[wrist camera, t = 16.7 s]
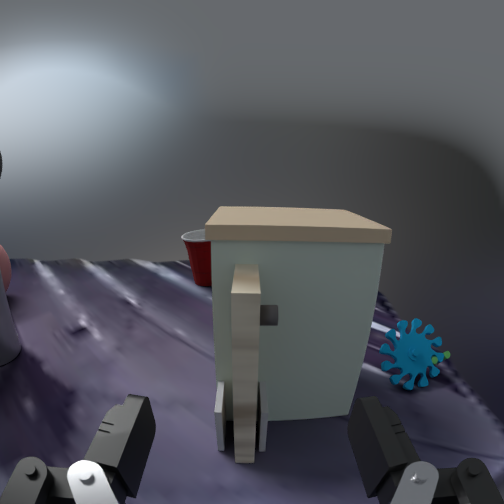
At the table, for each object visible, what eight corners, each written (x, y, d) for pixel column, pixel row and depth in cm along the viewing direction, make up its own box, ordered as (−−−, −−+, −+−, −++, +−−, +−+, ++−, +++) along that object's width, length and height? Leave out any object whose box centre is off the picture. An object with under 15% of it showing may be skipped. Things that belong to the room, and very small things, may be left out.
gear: (376, 384, 31) (388, 310, 36) (363, 388, 36) (375, 323, 41) (447, 393, 29) (454, 323, 34) (427, 396, 34) (435, 335, 39)
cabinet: (362, 441, 24) (416, 240, 19) (212, 450, 24) (196, 235, 19) (328, 356, 41) (345, 210, 35) (222, 358, 40) (220, 206, 35)
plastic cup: (178, 277, 72) (176, 229, 69) (219, 272, 77) (219, 226, 74) (189, 293, 63) (186, 239, 60) (235, 287, 67) (235, 235, 64)
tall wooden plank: (266, 462, 23) (280, 293, 18) (235, 462, 23) (231, 293, 18) (264, 421, 28) (273, 264, 24) (236, 420, 28) (235, 264, 24)
